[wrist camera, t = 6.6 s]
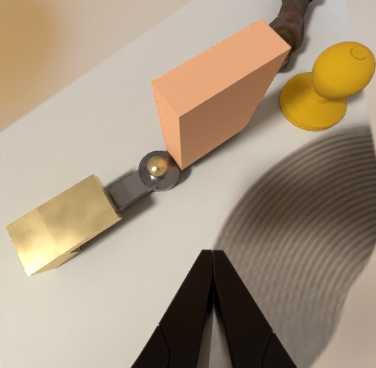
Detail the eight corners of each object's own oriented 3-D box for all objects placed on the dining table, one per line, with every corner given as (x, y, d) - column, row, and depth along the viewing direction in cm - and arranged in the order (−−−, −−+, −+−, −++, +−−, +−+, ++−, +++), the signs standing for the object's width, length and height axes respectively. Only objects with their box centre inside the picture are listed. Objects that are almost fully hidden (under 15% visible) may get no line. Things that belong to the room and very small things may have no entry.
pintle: (165, 179, 21) (164, 176, 19) (147, 175, 21) (145, 172, 20) (169, 161, 21) (168, 157, 20) (151, 158, 21) (149, 154, 20)
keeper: (107, 183, 22) (92, 174, 19) (129, 219, 21) (118, 217, 18) (35, 227, 21) (5, 226, 18) (55, 268, 20) (28, 276, 17)
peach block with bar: (246, 136, 24) (298, 54, 13) (83, 247, 20) (-36, 265, 9) (223, 110, 24) (255, 12, 13) (64, 212, 21) (-66, 192, 10)
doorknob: (272, 81, 26) (329, 75, 27) (288, 135, 24) (349, 127, 25) (305, 24, 19) (383, 16, 19) (331, 94, 17) (417, 84, 17)
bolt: (257, 83, 28) (285, 7, 31) (296, 80, 25) (322, -3, 28) (249, 45, 24) (283, -40, 26) (296, 37, 21) (327, -57, 24)
